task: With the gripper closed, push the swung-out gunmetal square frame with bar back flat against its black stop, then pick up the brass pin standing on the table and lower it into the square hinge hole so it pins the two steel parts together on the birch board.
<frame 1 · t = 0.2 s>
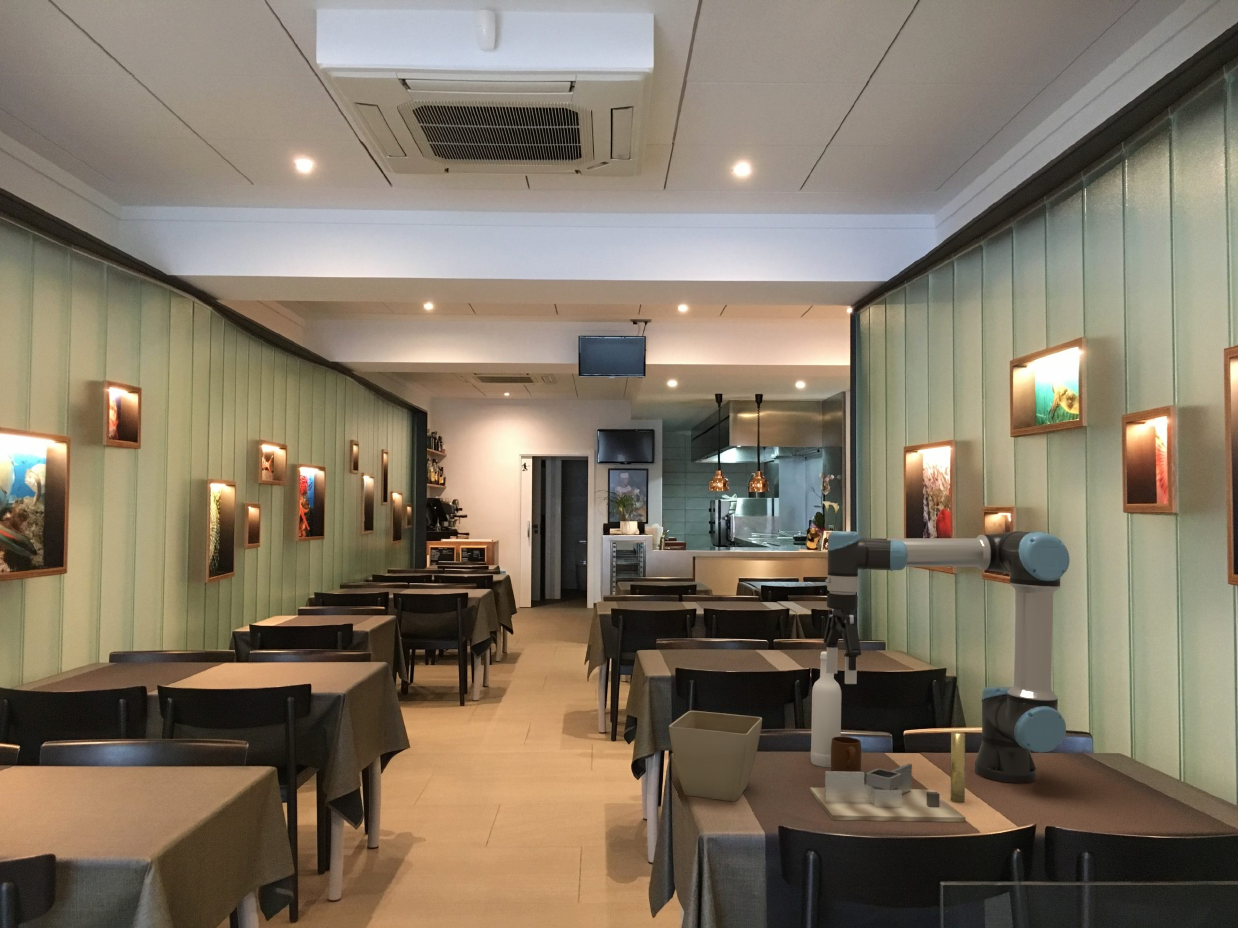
hand: (840, 678, 226), 27 cm above the table, fingers open, 13 cm apart
flower pot: (715, 792, 219), on the table
pin: (957, 800, 217), on the table
mug: (847, 779, 233), on the table
square frame with bar: (894, 782, 215), point 5 cm above the table, hinge at 45.0°
hinge base: (883, 807, 211), resting on board
board: (884, 805, 212), on the table
bottle: (825, 764, 247), on the table
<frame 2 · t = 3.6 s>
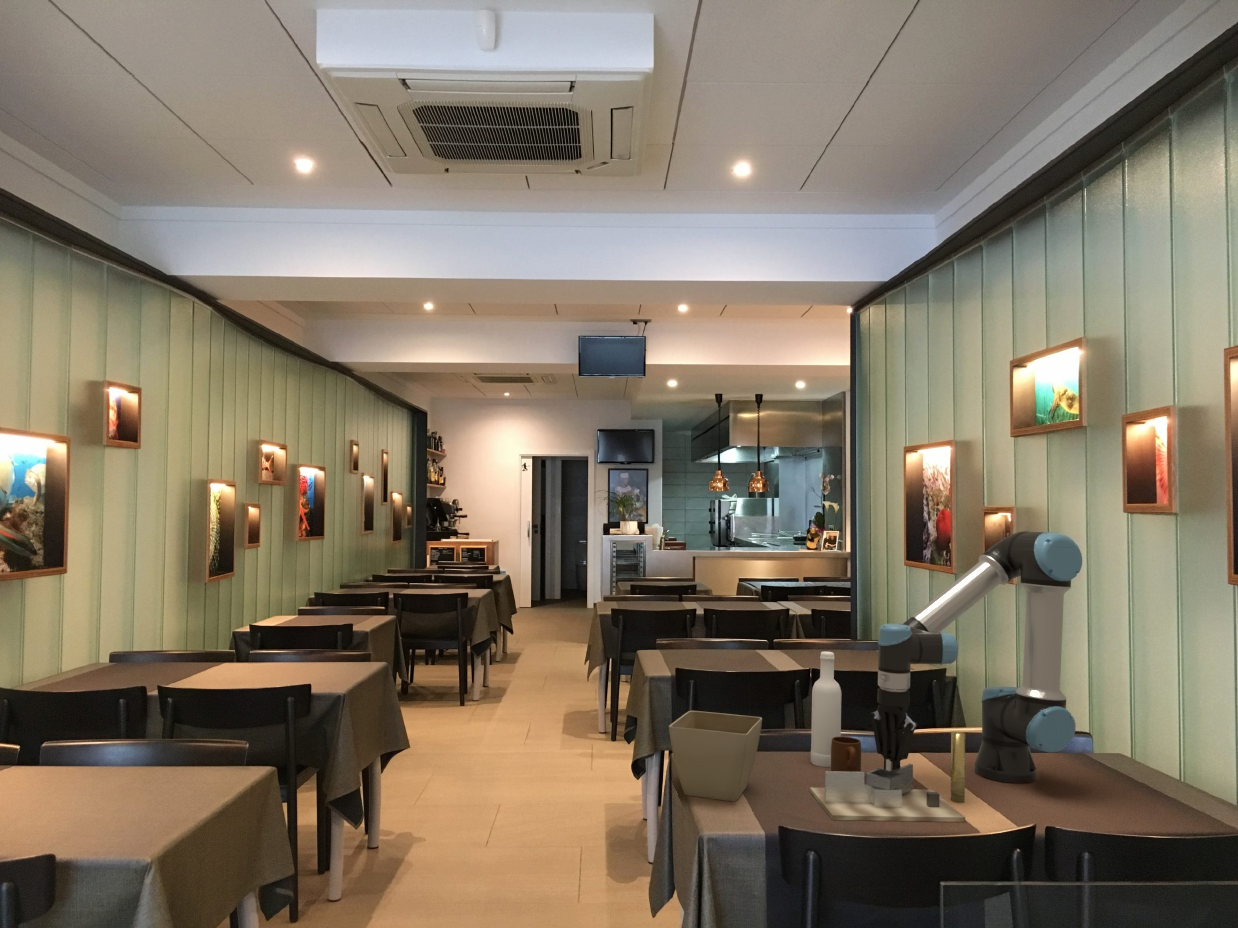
hand: (891, 786, 220), 2 cm above the table, fingers closed
square frame with bar: (894, 782, 215), point 5 cm above the table, hinge at 43.8°, touching gripper
everything else where it was.
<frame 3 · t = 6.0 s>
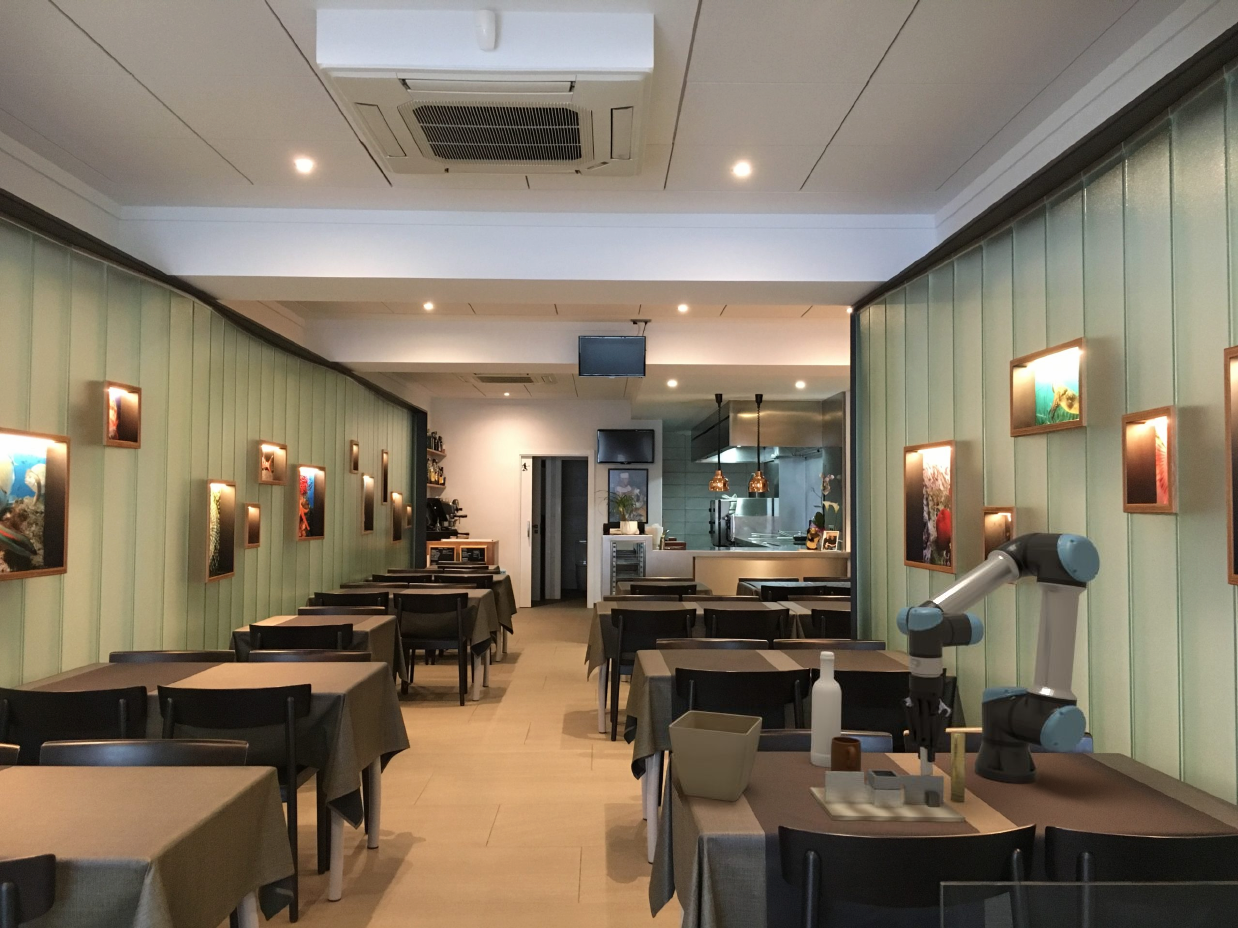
hand: (926, 774, 213), 7 cm above the table, fingers closed
square frame with bar: (906, 788, 211), point 5 cm above the table, hinge at -1.9°, touching hinge base
everything else where it was.
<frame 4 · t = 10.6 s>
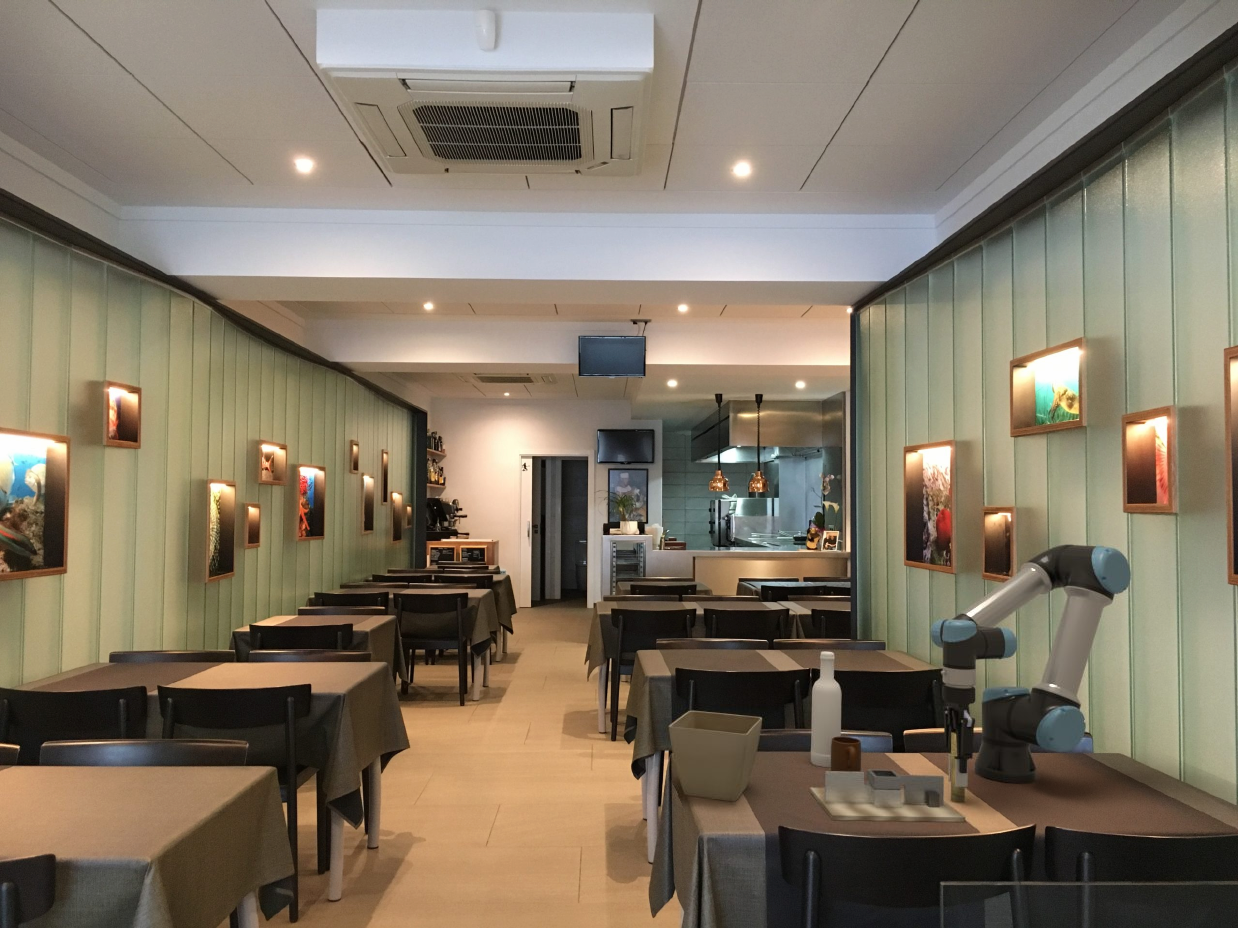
hand: (957, 783, 218), 4 cm above the table, fingers closed on pin, 3 cm apart
pin: (957, 800, 217), on the table, touching gripper
everything else where it was.
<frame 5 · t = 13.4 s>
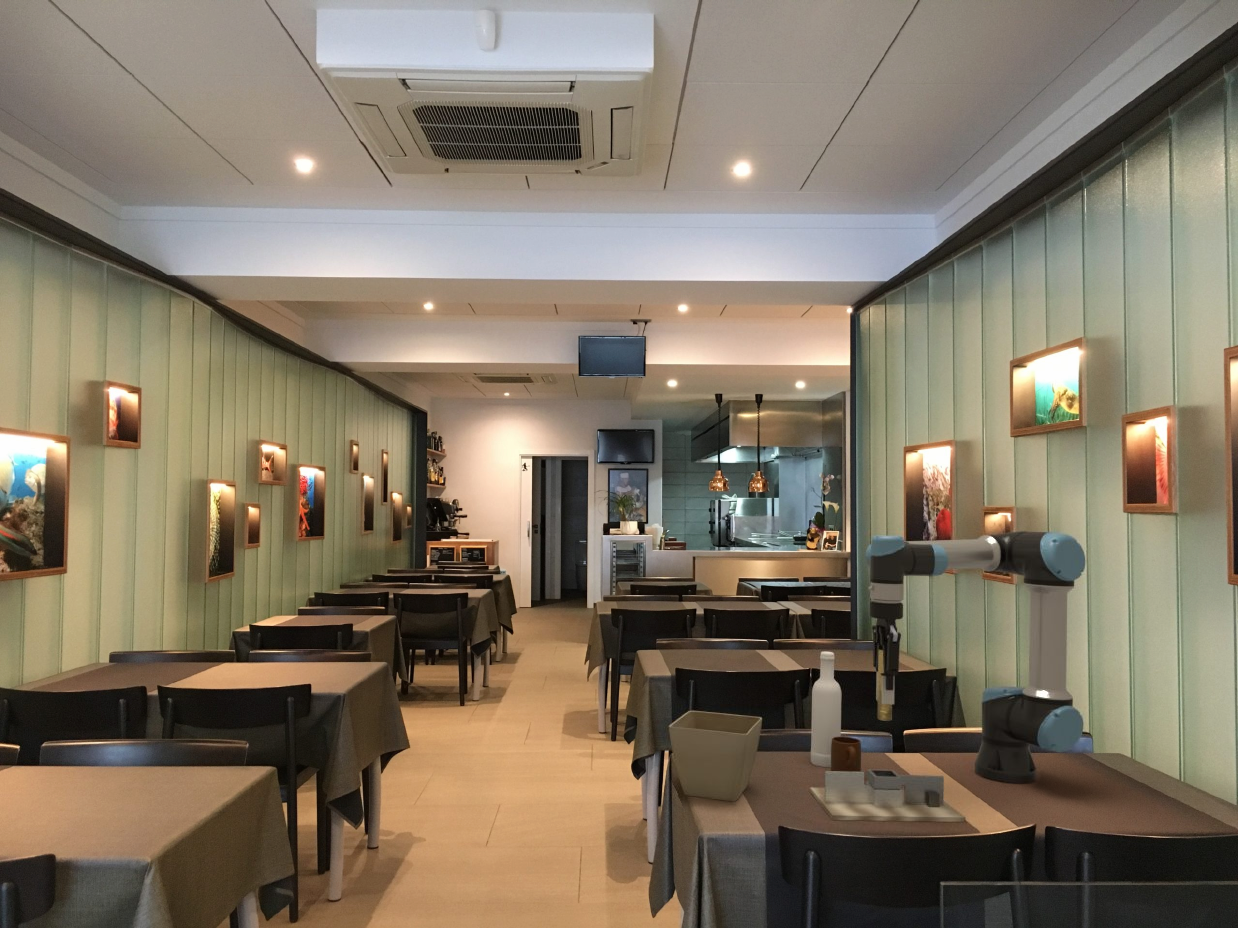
hand: (885, 701, 212), 24 cm above the table, fingers closed on pin, 3 cm apart
pin: (884, 718, 212), point 20 cm above the table, touching gripper
everything else where it was.
when the fingers open (9 cm above the table, at t = 16.3 s): pin drops 4 cm, resting on board.
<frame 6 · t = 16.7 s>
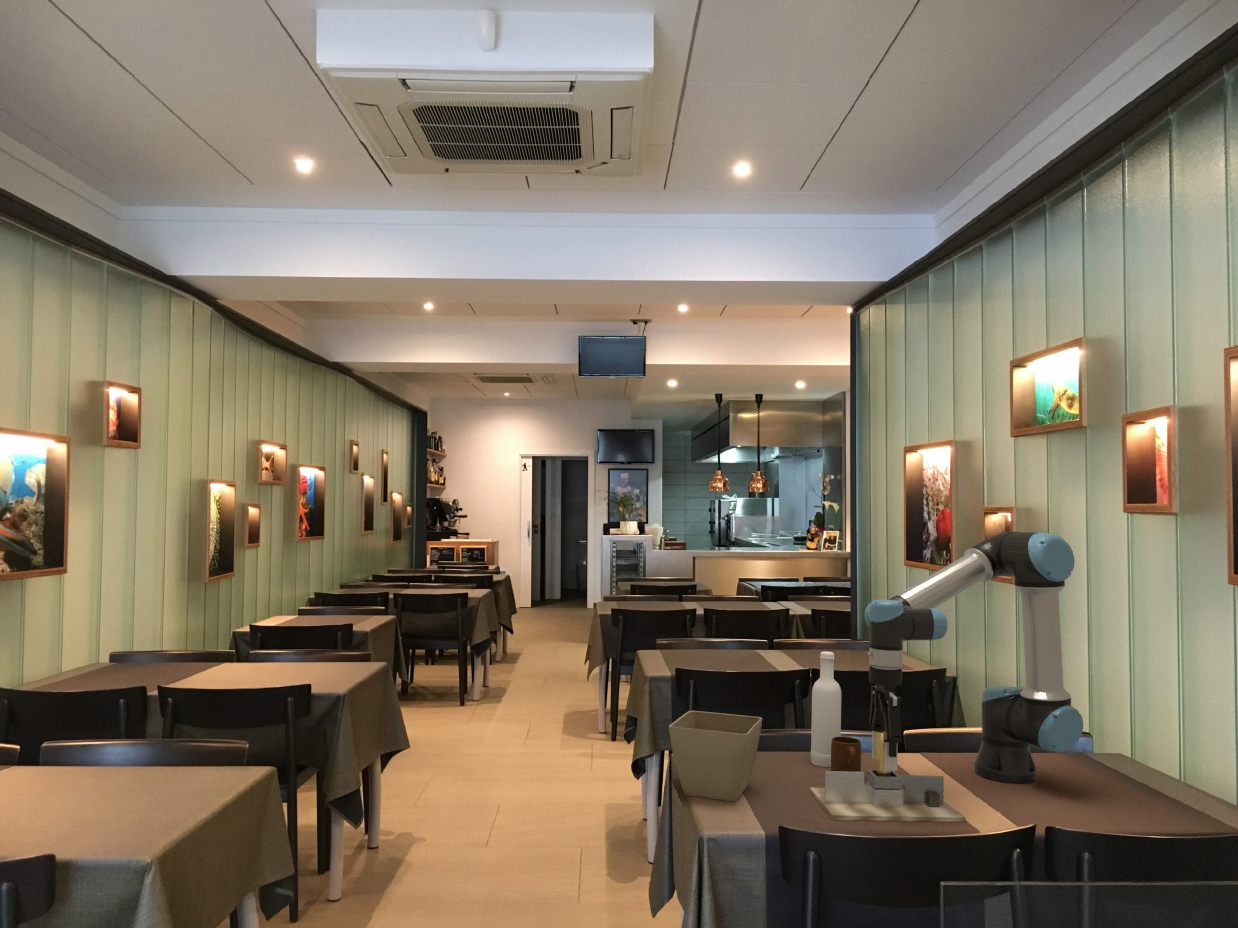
hand: (884, 764, 211), 10 cm above the table, fingers open, 8 cm apart
pin: (883, 802, 211), point 1 cm above the table, touching board
everything else where it was.
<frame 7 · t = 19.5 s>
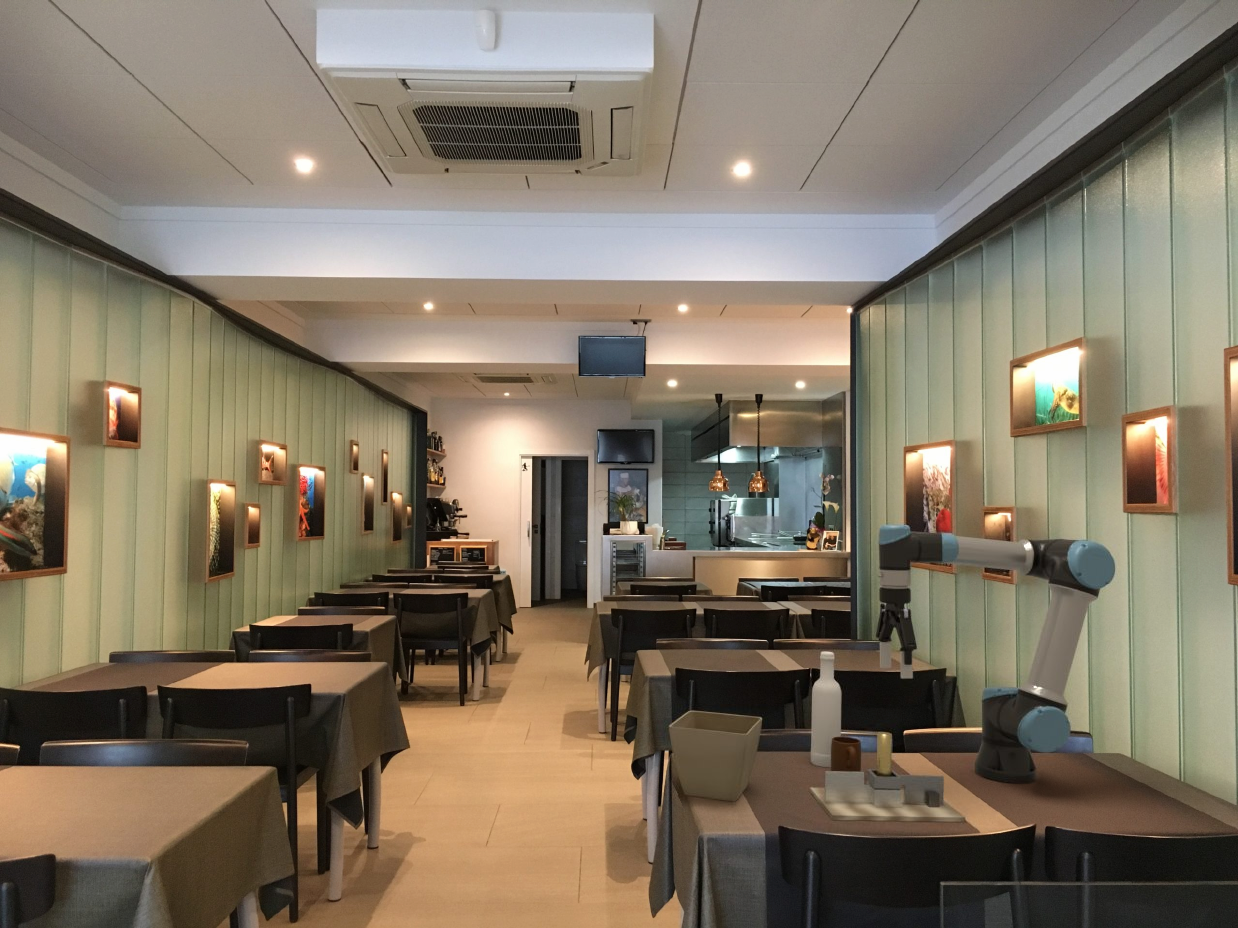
hand: (895, 672, 225), 29 cm above the table, fingers open, 13 cm apart
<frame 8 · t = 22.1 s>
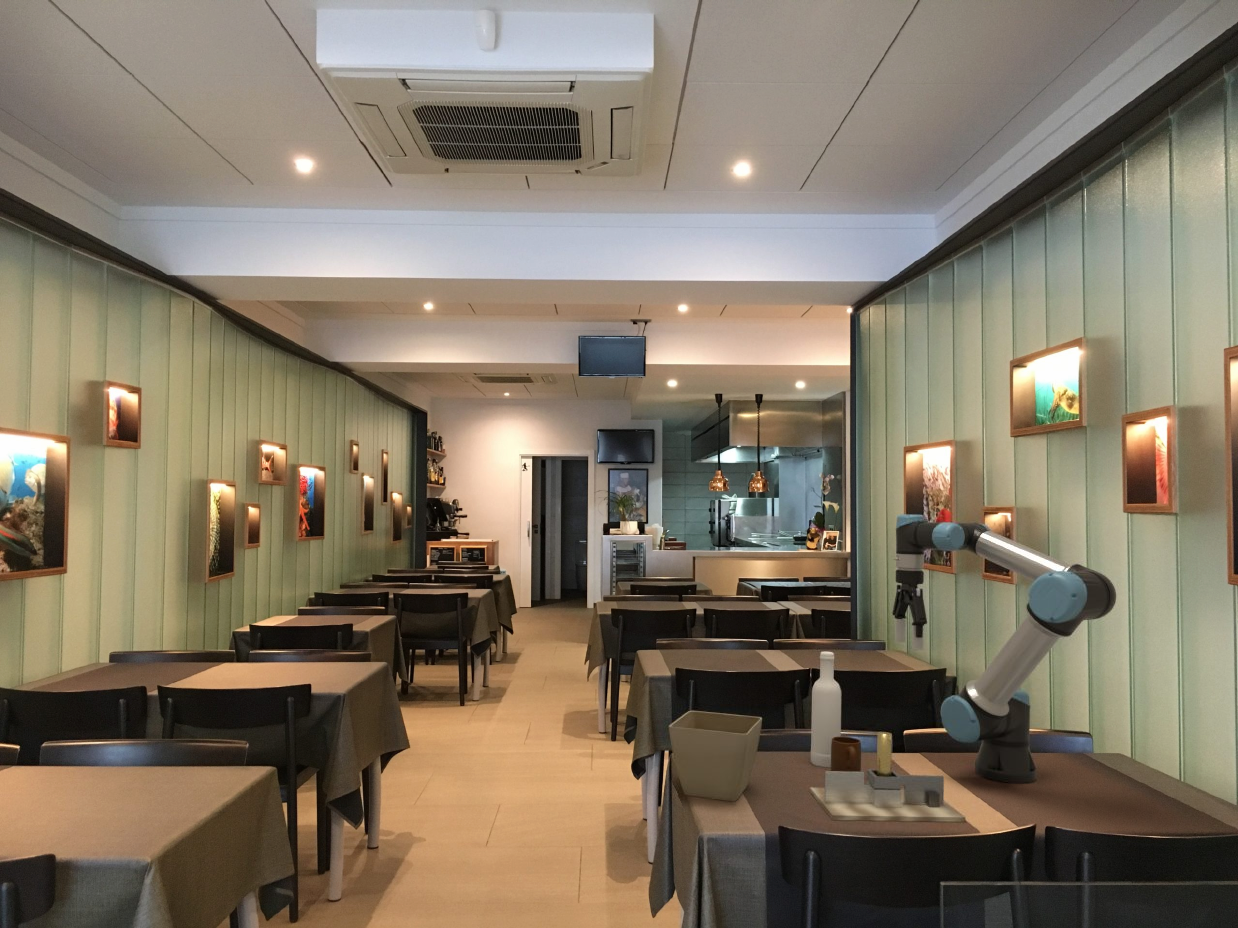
hand: (908, 645, 253), 32 cm above the table, fingers open, 13 cm apart
nothing on the table moved.
at the end: pin 0.2 cm off-centre on the hinge base, point 1.0 cm above the hinge base's base; pin tilted 0°; square frame with bar at -2° (first picture: +45°) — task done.
